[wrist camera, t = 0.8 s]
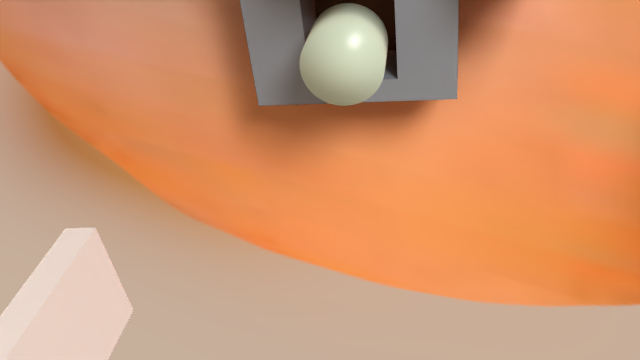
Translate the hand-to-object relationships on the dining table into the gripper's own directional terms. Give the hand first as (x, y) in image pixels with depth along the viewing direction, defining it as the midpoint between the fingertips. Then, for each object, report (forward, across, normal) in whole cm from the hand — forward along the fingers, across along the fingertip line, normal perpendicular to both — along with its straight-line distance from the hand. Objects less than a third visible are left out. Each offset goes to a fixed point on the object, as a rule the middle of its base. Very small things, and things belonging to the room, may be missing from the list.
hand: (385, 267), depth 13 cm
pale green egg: (+24, -4, -4) cm, 25 cm away
